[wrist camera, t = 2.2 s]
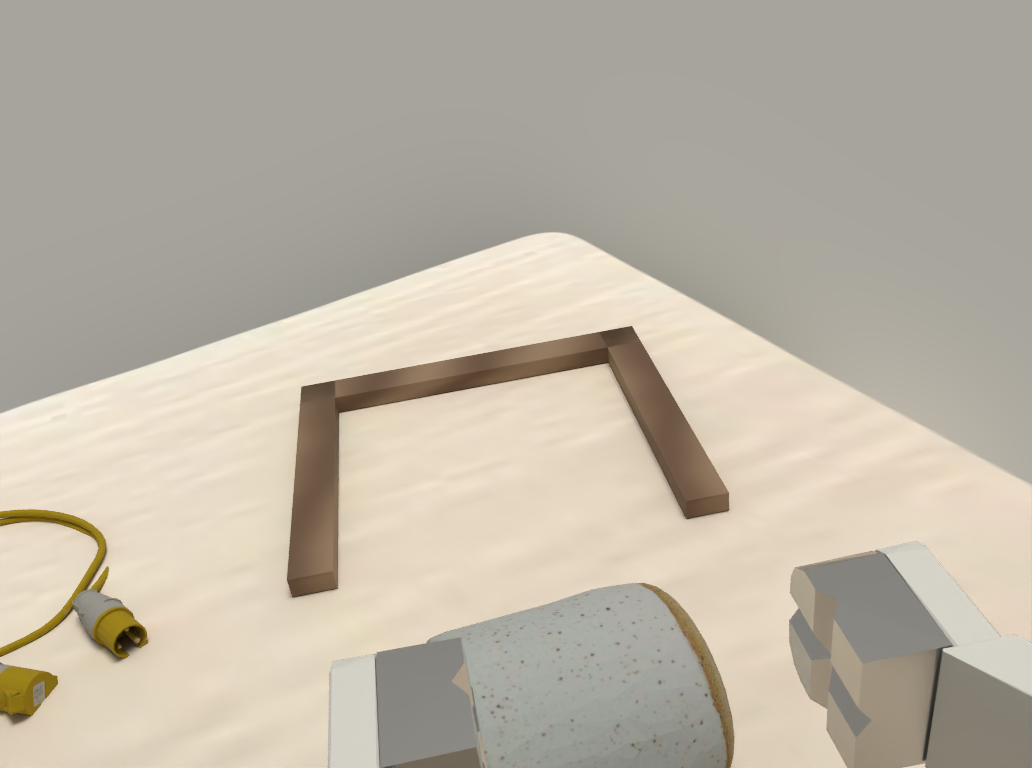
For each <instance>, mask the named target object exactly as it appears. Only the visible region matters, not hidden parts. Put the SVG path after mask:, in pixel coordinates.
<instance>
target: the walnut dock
mask: <svg viewBox="0 0 1032 768" xmlns="http://www.w3.org/2000/svg"><path fill="white" fill-rule="evenodd" d="M607 362H609V364H610V366H611V368H612V370H613V372H614V374H615V376H616V378H617V380H618V382H619V384H620V386H621V388H622V390H623V392H624V394H625V396H626V398H627V400H628V402H629V404H630V406H631V408H632V410H633V412H634V414H635V416H636V418H637V420H638V422H639V424H640V426H641V428H642V430H643V432H644V434H645V436H646V438H647V440H648V442H649V444H650V446H651V448H652V450H653V452H654V454H655V456H656V458H657V460H658V462H659V464H660V466H661V468H662V470H663V472H664V474H665V476H666V478H667V480H668V482H669V484H670V486H671V488H672V490H673V492H674V494H675V496H676V498H677V500H678V502H679V504H680V506H681V508H682V510H683V512H684V514H685V516H686V518H691V517H696V516H702V515H707V514H712V513H717V512H722V511H727V510H729V492H728V491H727V489H726V487H725V485H724V484H723V482H722V480H721V479H720V477H719V475H718V473H717V472H716V470H715V468H714V466H713V465H712V463H711V461H710V460H709V458H708V456H707V454H706V453H705V451H704V449H703V448H702V446H701V444H700V442H699V441H698V439H697V437H696V436H695V434H694V432H693V430H692V429H691V427H690V425H689V424H688V422H687V420H686V418H685V417H684V415H683V413H682V412H681V410H680V408H679V406H678V405H677V403H676V401H675V400H674V398H673V396H672V394H671V393H670V391H669V389H668V387H667V386H666V384H665V382H664V381H663V379H662V377H661V375H660V374H659V372H658V370H657V369H656V367H655V365H654V363H653V362H652V360H651V358H650V357H649V355H648V353H647V351H646V350H645V348H644V346H643V345H642V343H641V341H640V339H639V338H638V336H637V334H636V333H635V331H634V329H633V327H632V326H630V327H624V328H619V329H613V330H608V331H603V332H597V333H592V334H586V335H581V336H575V337H570V338H564V339H559V340H554V341H548V342H543V343H537V344H532V345H526V346H521V347H515V348H510V349H505V350H499V351H494V352H488V353H483V354H477V355H472V356H466V357H461V358H456V359H450V360H445V361H439V362H434V363H428V364H423V365H417V366H412V367H407V368H401V369H396V370H390V371H385V372H379V373H374V374H368V375H363V376H358V377H352V378H347V379H341V380H336V381H330V382H325V383H319V384H314V385H309V386H303V387H302V388H301V401H300V414H299V428H298V441H297V454H296V468H295V481H294V494H293V508H292V521H291V534H290V548H289V561H288V574H287V581H288V584H289V588H290V591H291V594H292V597H295V596H300V595H305V594H310V593H315V592H320V591H325V590H330V589H335V588H338V461H339V412H343V411H349V410H354V409H359V408H365V407H370V406H376V405H381V404H386V403H392V402H397V401H402V400H408V399H413V398H419V397H424V396H429V395H435V394H440V393H445V392H451V391H456V390H462V389H467V388H472V387H478V386H483V385H488V384H494V383H499V382H505V381H510V380H515V379H521V378H526V377H531V376H537V375H542V374H548V373H553V372H558V371H564V370H569V369H574V368H580V367H585V366H591V365H596V364H601V363H607Z"/></svg>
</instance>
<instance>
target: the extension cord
mask: <svg viewBox="0 0 1032 768" xmlns="http://www.w3.org/2000/svg"><path fill="white" fill-rule="evenodd" d="M7 517H8V518H7ZM0 518H3V519H0V526H1V525H6V524H10V523H17V522H25V521H46V522H52V523H58V524H61V525H64V526H67V527H70V528H73V529H75V530H78V531H80V532H82V533H84V534H87V535H89V536H91V537H93V538H95V540H96V541H97V542H98V547H99V549H98V552H97V555H96V557H95V559H94V561H93V562H92V564H91V566H90V567H89V569H88V571H87V572H86V574H85V576H84V577H83V579H82V581H81V582H80V584H79V585H78V587H77V589H76V590H75V592H74V593H73V595H72V597H71V598H70V599H69V601H68V602H67V603H66V605H65V606H64V607H63V609H62V610H61V611H60V612H59V613H58V614H57V615H56V616H55V617H54V618H53V619H52V620H51V621H49V622H48V623H47V624H45V625H44V626H43V627H42V628H40V629H38V630H36V631H34V632H33V633H31V634H29V635H27V636H26V637H24V638H22V639H19V640H17V641H15V642H13V643H11V644H9V645H6V646H4V647H2V648H0V656H2V655H5V654H7V653H9V652H11V651H13V650H15V649H18V648H20V647H22V646H24V645H26V644H28V643H30V642H32V641H33V640H35V639H37V638H39V637H41V636H42V635H44V634H46V633H47V632H49V631H50V630H51V629H53V628H54V627H55V626H57V625H58V624H59V623H60V622H61V621H62V620H63V619H64V618H65V617H66V616H67V614H68V613H69V612H70V610H71V609H72V608H73V606H74V610H75V611H76V612H77V614H78V616H79V618H80V620H81V622H82V624H83V625H84V627H85V629H86V631H87V633H88V635H89V637H90V638H92V639H94V640H96V641H97V642H98V643H99V644H100V645H103V646H107V647H108V648H109V649H110V650H111V651H112V652H113V653H114V654H115V655H116V656H118V657H122V658H126V657H128V656H129V654H128V653H126V652H125V651H124V650H123V649H122V648H121V645H120V644H119V643H118V642H117V641H116V640H117V639H119V638H120V637H122V636H123V635H126V636H127V637H128V638H130V639H131V640H132V641H133V642H134V643H135V644H136V645H137V646H138V647H139V648H141V647H143V646H144V644H147V643H148V641H147V640H146V639H147V632H146V629H145V628H144V627H143V626H142V625H141V624H140V623H138V622H137V621H136V620H135V619H134V616H133V613H132V612H131V611H129V610H128V609H127V608H126V607H125V606H124V605H123V604H122V602H121V600H119V599H117V598H110V597H108V596H106V595H103V594H101V593H98V592H97V591H98V590H99V589H100V588H101V587H102V586H103V584H104V583H105V581H106V579H107V576H108V571H109V568H108V567H106V569H105V570H104V572H103V573H102V575H101V576H100V578H99V579H98V581H97V582H96V583H95V584H94V585H93V586H92V587H91V589H89V590H85V588H86V586H87V585H88V583H89V582H90V580H91V578H92V576H93V575H94V573H95V571H96V569H97V568H98V566H99V564H100V562H101V561H102V559H103V557H104V554H105V551H106V543H105V539H104V537H103V535H102V533H101V532H100V531H99V530H98V529H97V528H95V527H94V526H93V525H92V524H90V523H88V522H87V521H85V520H83V519H80V518H78V517H75V516H72V515H68V514H64V513H60V512H54V511H47V510H11V511H2V512H0ZM84 590H85V591H84ZM57 684H58V682H57V676H54V675H52V674H51V673H49V672H44V671H38V670H32V669H27V668H21V667H15V666H10V665H4V664H2V663H0V711H4V712H7V713H8V714H9V715H13V714H15V713H18V714H25V715H33V714H34V712H35V711H36V710H37V709H38V707H39V706H40V705H41V703H42V702H43V701H44V699H45V698H47V696H48V695H49V694H50V693H51V691H52V690H53V689H54V688H55V686H56V685H57Z"/></svg>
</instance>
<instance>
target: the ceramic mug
mask: <svg viewBox="0 0 1032 768" xmlns="http://www.w3.org/2000/svg"><path fill="white" fill-rule="evenodd" d="M459 637H461V639H462V642H463V647H464V651H465V655H466V659H467V665H468V671H469V678H470V684H471V687H472V688H473V693H474V698H475V703H476V708H477V713H478V718H479V724H480V729H481V735H482V741H483V747H484V753H485V759H486V765H487V768H730V767H731V764H732V759H733V754H734V730H733V721H732V715H731V711H730V707H729V702H728V698H727V694H726V690H725V687H724V685H723V682H722V679H721V676H720V674H719V671H718V669H717V666H716V664H715V661H714V659H713V657H712V654H711V652H710V650H709V648H708V646H707V644H706V642H705V640H704V639H703V637H702V635H701V634H700V632H699V630H698V629H697V627H696V625H695V624H694V622H693V621H692V619H691V618H690V617H689V615H688V614H687V612H686V611H685V610H684V609H683V608H682V607H681V606H680V605H679V603H678V602H677V601H676V600H675V599H673V598H672V597H671V596H670V595H669V594H668V593H666V592H664V591H663V590H661V589H659V588H658V587H656V586H652V585H649V584H645V583H632V584H624V585H616V586H610V587H604V588H599V589H593V590H589V591H586V592H583V593H580V594H577V595H574V596H571V597H568V598H565V599H562V600H559V601H556V602H553V603H550V604H547V605H543V606H539V607H535V608H532V609H528V610H524V611H521V612H517V613H513V614H510V615H506V616H502V617H499V618H495V619H492V620H488V621H484V622H481V623H477V624H473V625H470V626H466V627H462V628H458V629H455V630H451V631H447V632H444V633H442V634H440V635H437V636H435V637H433V638H430V639H429V640H428V641H427V643H431V642H437V641H443V640H448V639H454V638H459Z"/></svg>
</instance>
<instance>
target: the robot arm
mask: <svg viewBox="0 0 1032 768" xmlns="http://www.w3.org/2000/svg"><path fill="white" fill-rule="evenodd" d="M790 593H791V595H792V597H793V599H794V600H795V602H796V604H797V605H798V607H799V609H798V610H797V611H796V613H795V614H794V615H793V616H792V618H791V619H790V620H789V642H790V646H791V651H792V656H793V661H794V665H795V667H796V670H797V673H798V675H799V678H800V680H801V683H802V685H803V686H804V688H805V690H806V692H807V694H808V696H809V698H810V699H811V700H813V701H815V702H816V703H818V704H820V705H821V706H823V707H825V708H826V709H828V711H827V731H828V733H829V735H830V737H831V739H832V740H833V742H834V744H835V746H836V748H837V750H838V751H839V753H840V755H841V757H842V759H843V760H844V762H845V764H846V766H847V768H903V767H908V766H913V765H918V764H924V763H926V765H925V767H926V768H1032V643H1031V642H1029V641H1027V640H1025V639H1023V638H1021V637H1019V636H1016V635H1014V634H1013V635H1007V636H1002V637H1001V636H1000V634H999V633H998V632H997V631H996V630H995V628H994V627H993V626H992V625H991V624H990V622H989V621H988V620H987V619H986V618H985V616H984V615H983V614H982V613H981V612H980V610H979V609H978V608H977V607H976V606H975V604H974V603H973V602H972V601H971V600H970V598H969V597H968V596H967V595H966V594H965V592H964V591H963V590H962V589H961V588H960V587H959V585H958V584H957V583H956V582H955V581H954V579H953V578H952V577H951V576H950V575H949V573H948V572H947V571H946V570H945V569H944V567H943V566H942V565H941V564H940V563H939V561H938V560H937V559H936V558H935V557H934V555H933V554H932V553H931V552H930V551H929V549H928V548H927V547H926V546H925V545H923V544H921V543H919V542H917V541H915V542H910V543H906V544H901V545H897V546H892V547H887V548H883V549H878V550H876V551H875V552H874V551H869V552H865V553H860V554H855V555H851V556H846V557H842V558H837V559H832V560H828V561H823V562H819V563H814V564H809V565H805V566H800V567H795V568H794V571H793V573H792V575H791V587H790ZM328 768H487V765H486V759H485V753H484V747H483V741H482V735H481V729H480V724H479V718H478V713H477V708H476V703H475V698H474V693H473V688H472V687H471V684H470V678H469V671H468V665H467V659H466V655H465V651H464V647H463V642H462V639H461V637H459V638H454V639H448V640H443V641H437V642H431V643H426V644H420V645H415V646H409V647H404V648H398V649H393V650H387V651H382V652H377V653H376V654H371V655H365V656H359V657H354V658H348V659H342V660H337V661H333V663H332V666H331V670H330V674H329V731H328Z"/></svg>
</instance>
